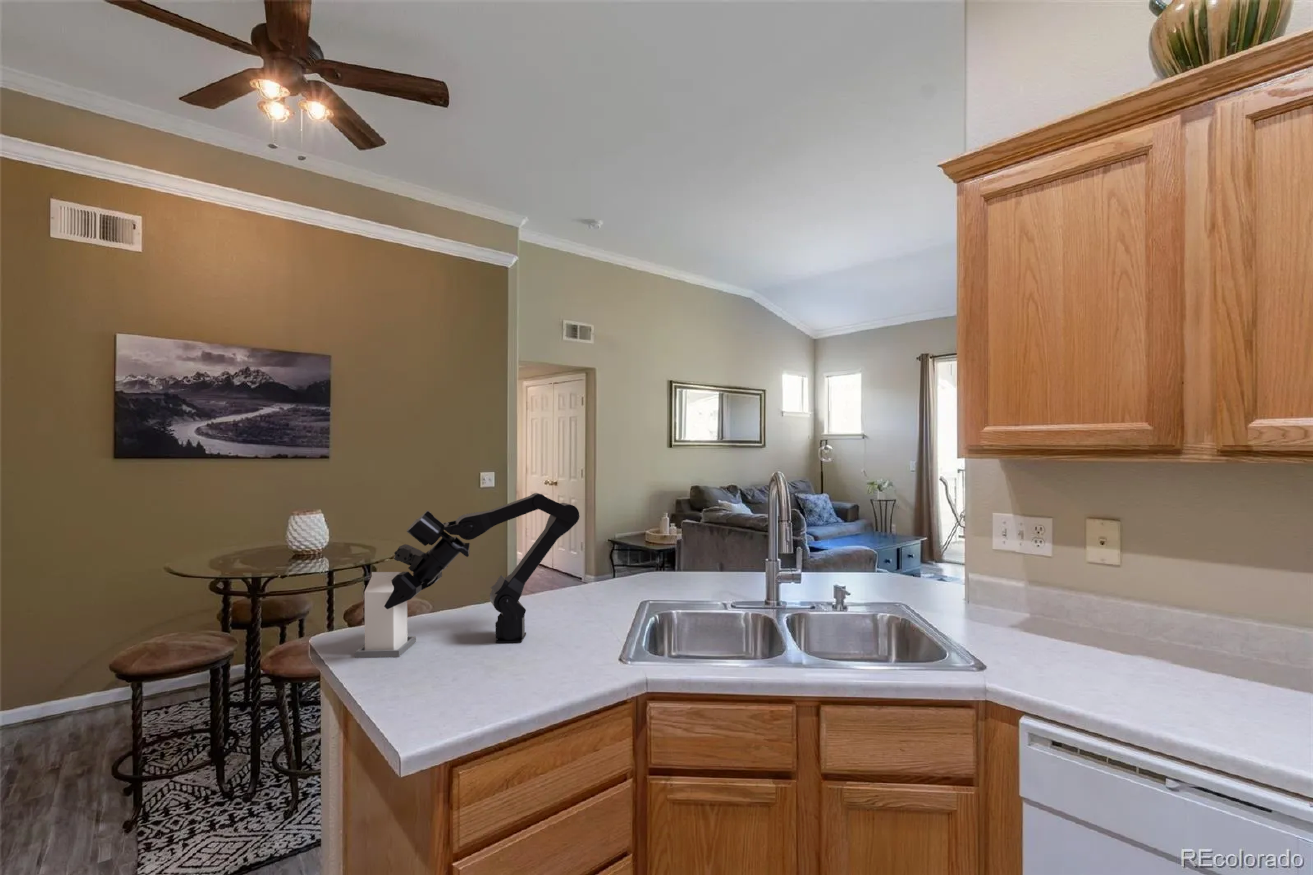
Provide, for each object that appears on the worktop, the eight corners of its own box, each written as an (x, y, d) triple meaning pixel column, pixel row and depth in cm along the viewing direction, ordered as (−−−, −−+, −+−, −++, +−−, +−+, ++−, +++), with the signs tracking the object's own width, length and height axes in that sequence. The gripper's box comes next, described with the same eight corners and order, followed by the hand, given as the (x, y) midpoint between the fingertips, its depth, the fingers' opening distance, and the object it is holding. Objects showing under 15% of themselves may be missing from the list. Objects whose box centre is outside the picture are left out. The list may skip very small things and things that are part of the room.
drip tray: (415, 642, 147) (415, 636, 147) (398, 657, 136) (398, 650, 136) (375, 643, 146) (375, 637, 146) (355, 658, 136) (355, 651, 136)
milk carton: (393, 655, 138) (393, 575, 138) (364, 655, 138) (364, 575, 138) (407, 644, 145) (407, 568, 145) (379, 644, 145) (379, 569, 145)
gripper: (429, 528, 151) (387, 571, 151) (400, 540, 132) (351, 588, 132) (460, 558, 151) (417, 601, 151) (435, 574, 133) (386, 623, 132)
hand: (394, 602), depth 141 cm, fingers open, 9 cm apart
